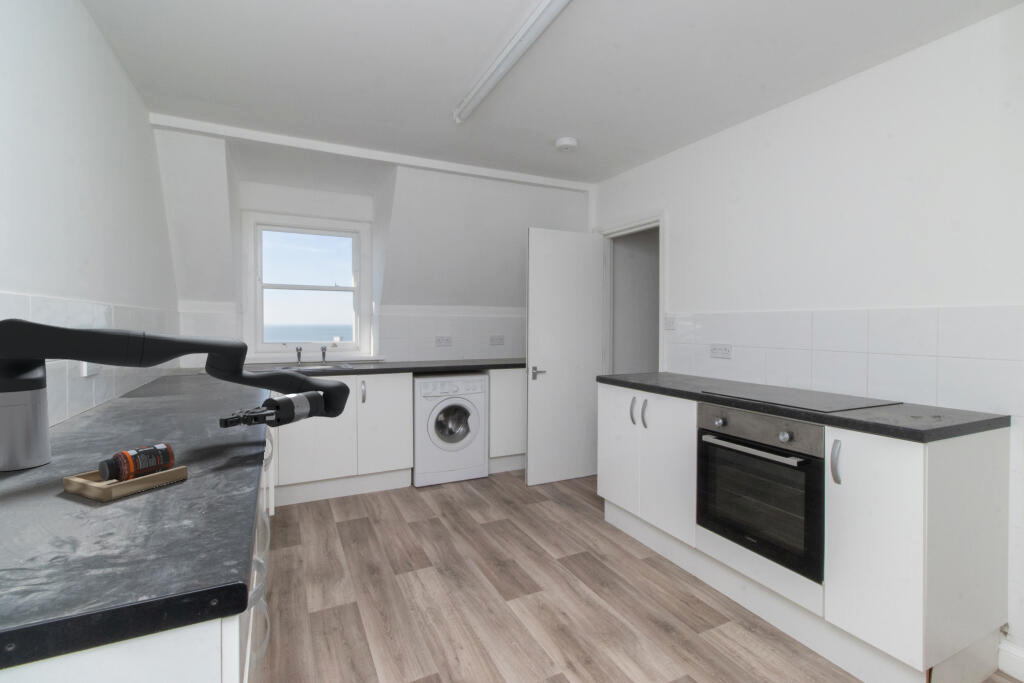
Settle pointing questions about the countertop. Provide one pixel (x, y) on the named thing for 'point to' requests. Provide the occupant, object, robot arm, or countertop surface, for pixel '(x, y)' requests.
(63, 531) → the countertop surface
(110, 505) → the countertop surface
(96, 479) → the beech tray
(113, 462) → the supplement bottle
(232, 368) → the robot arm
